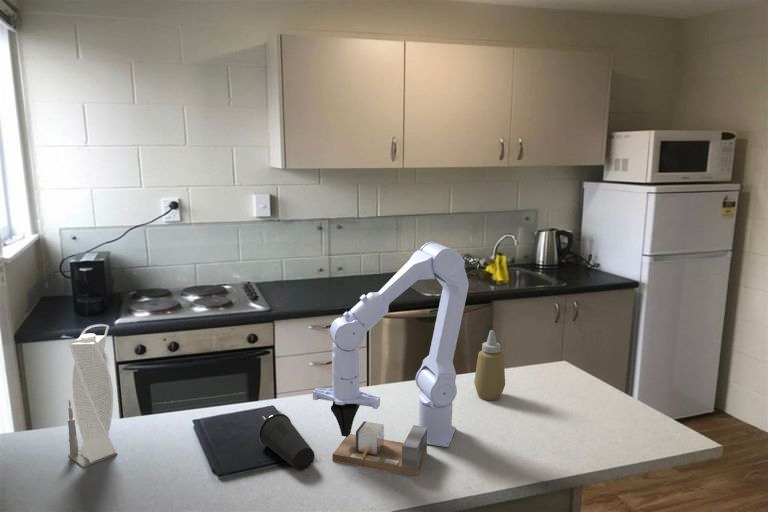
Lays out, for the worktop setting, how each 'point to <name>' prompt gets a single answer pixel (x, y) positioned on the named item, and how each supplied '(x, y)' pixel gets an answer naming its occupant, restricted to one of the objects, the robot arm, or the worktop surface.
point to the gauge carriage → (369, 438)
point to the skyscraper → (91, 400)
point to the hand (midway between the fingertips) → (346, 434)
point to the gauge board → (388, 453)
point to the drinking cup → (286, 441)
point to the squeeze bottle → (490, 370)
